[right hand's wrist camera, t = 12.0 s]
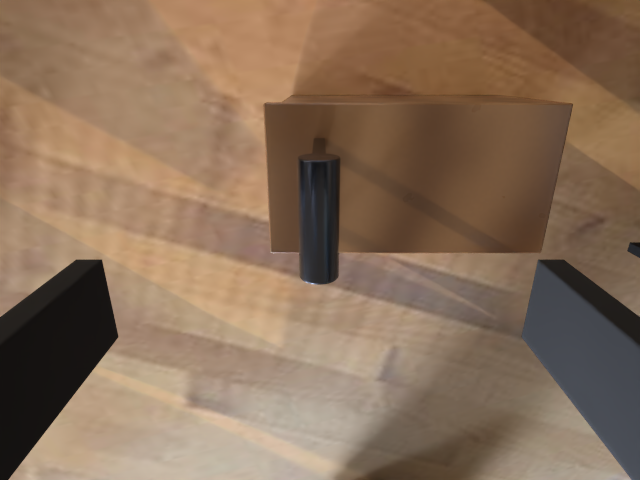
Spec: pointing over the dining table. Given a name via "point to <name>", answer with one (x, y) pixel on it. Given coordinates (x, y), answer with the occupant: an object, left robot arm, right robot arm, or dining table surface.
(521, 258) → the dining table surface
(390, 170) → the door
